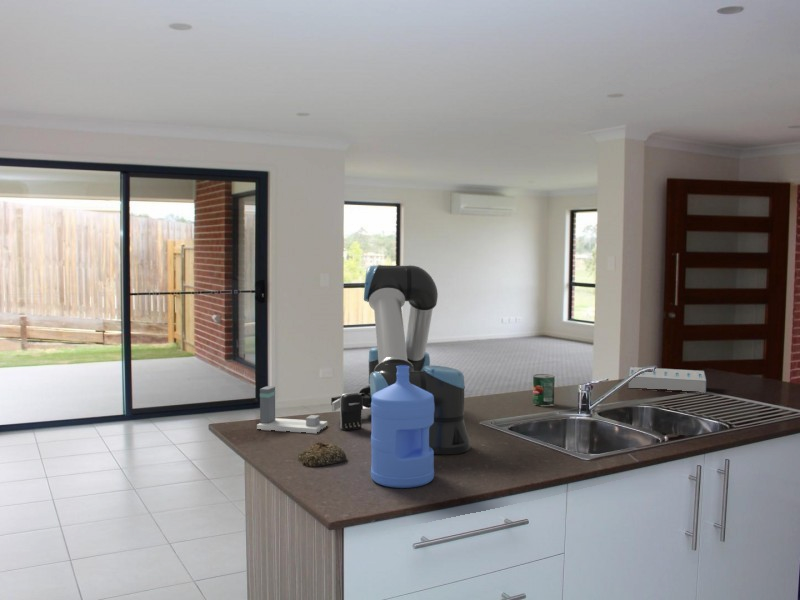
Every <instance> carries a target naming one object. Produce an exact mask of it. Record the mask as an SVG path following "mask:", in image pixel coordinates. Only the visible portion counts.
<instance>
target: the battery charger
mask: <svg viewBox="0 0 800 600" xmlns="http://www.w3.org/2000/svg"><path fill="white" fill-rule="evenodd" d="M340 396H341V398H340V408H339V413H340V429H341V430H344V431H352V430H353V431H354V430H360V429H362V411H363V410H364V406H363V398H362V396H361V395H360V394H359V392H347V393H342V395H340Z"/></svg>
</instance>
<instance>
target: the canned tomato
mask: <svg viewBox="0 0 800 600" xmlns="http://www.w3.org/2000/svg"><path fill="white" fill-rule="evenodd" d="M532 376H533V377H532V405H533V404H536V405H550V404H554V405H555V379H556V378H555V377H556V375H554V374H549V373H538V374H533V375H532Z"/></svg>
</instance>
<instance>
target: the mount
mask: <svg viewBox="0 0 800 600" xmlns="http://www.w3.org/2000/svg"><path fill="white" fill-rule="evenodd" d="M259 415H260V416H259V423H258V424H256V430H257V429H261V430H260V431H271V430H275V432H286V431H290V432H289V433H301V432H306V433H305V434H318V433H319V432H321V431H322V430H323V428H324V427H325V428H327V427H326V426H328V421H327V420H321V415H318V414H317V415H316V414H310V415H309V416H307V417H306V418H305V419H297V418H296V419H294V418H293V419H292V418H277V417H276V386H269V385H267V386H264V387H262V388H259ZM325 428H324V429H325ZM321 429H322V430H321ZM320 430H321V431H320ZM317 432H318V433H317Z"/></svg>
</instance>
